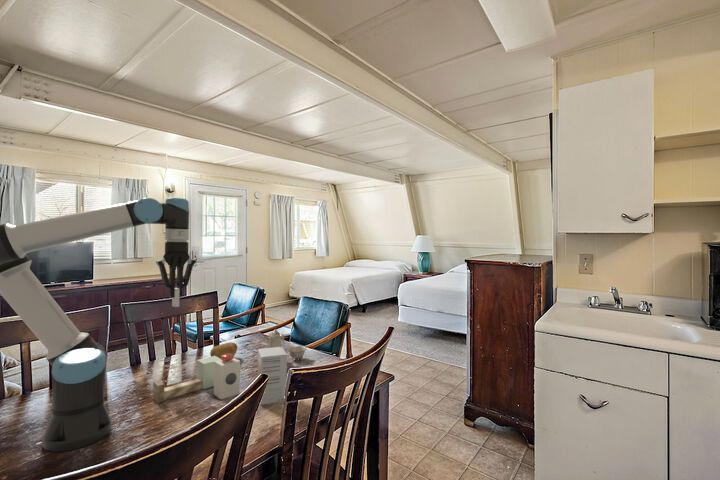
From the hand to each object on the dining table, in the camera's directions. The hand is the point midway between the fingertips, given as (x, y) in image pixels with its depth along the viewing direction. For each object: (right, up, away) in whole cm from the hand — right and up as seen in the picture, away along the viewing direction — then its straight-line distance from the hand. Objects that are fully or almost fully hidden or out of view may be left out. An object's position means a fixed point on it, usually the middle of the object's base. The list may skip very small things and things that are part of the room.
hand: (175, 306), depth 124 cm
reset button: (+18, -23, +2) cm, 29 cm away
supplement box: (+35, -33, 0) cm, 48 cm away
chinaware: (+31, -33, +32) cm, 55 cm away
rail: (+4, -33, +5) cm, 33 cm away
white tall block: (+18, -33, +2) cm, 37 cm away
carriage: (+8, -33, +9) cm, 35 cm away
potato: (+4, -33, +36) cm, 48 cm away
